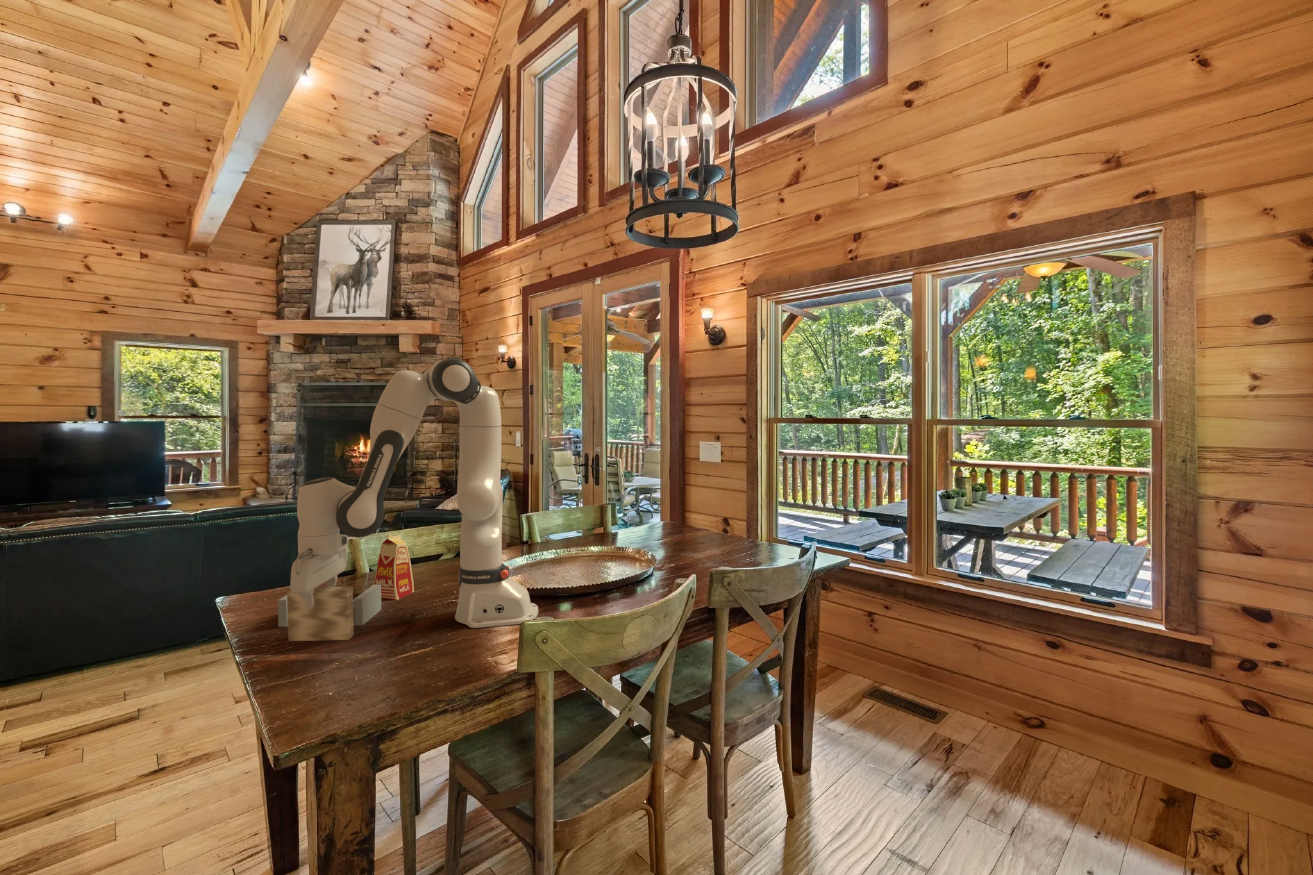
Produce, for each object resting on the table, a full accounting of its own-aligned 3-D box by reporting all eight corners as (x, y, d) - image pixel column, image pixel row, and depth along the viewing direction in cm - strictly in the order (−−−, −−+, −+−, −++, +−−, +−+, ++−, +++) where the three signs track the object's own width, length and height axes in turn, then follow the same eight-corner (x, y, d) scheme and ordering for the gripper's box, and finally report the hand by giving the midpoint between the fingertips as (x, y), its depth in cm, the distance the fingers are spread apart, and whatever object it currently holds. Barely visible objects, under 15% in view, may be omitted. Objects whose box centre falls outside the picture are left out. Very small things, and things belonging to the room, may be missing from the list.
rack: (381, 613, 162) (380, 584, 162) (362, 629, 150) (362, 598, 150) (303, 614, 161) (302, 585, 160) (278, 631, 149) (277, 600, 149)
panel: (353, 637, 144) (352, 586, 143) (348, 642, 141) (347, 590, 140) (295, 639, 143) (294, 587, 142) (288, 644, 140) (287, 591, 139)
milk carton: (397, 603, 170) (396, 536, 169) (370, 601, 172) (369, 535, 171) (416, 594, 179) (415, 530, 178) (390, 592, 181) (389, 529, 180)
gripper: (310, 554, 131) (312, 615, 131) (351, 535, 151) (352, 587, 152) (281, 555, 130) (283, 615, 131) (326, 535, 151) (327, 587, 151)
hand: (320, 600), depth 142 cm, fingers open, 8 cm apart
